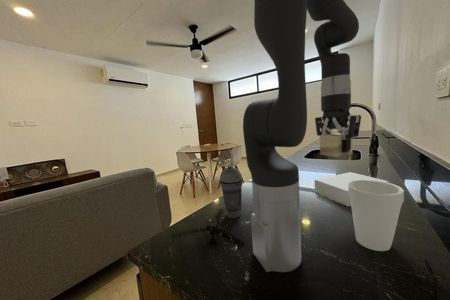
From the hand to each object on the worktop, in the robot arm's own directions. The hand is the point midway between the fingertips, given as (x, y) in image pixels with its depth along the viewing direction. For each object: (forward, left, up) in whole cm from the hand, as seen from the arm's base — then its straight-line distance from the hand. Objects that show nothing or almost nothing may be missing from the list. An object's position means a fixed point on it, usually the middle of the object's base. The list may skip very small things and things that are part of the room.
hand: (335, 150), depth 58 cm
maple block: (0, 0, -1) cm, 1 cm away
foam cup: (-7, -16, -18) cm, 25 cm away
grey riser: (+12, +5, -18) cm, 23 cm away
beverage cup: (-31, +10, -18) cm, 37 cm away
